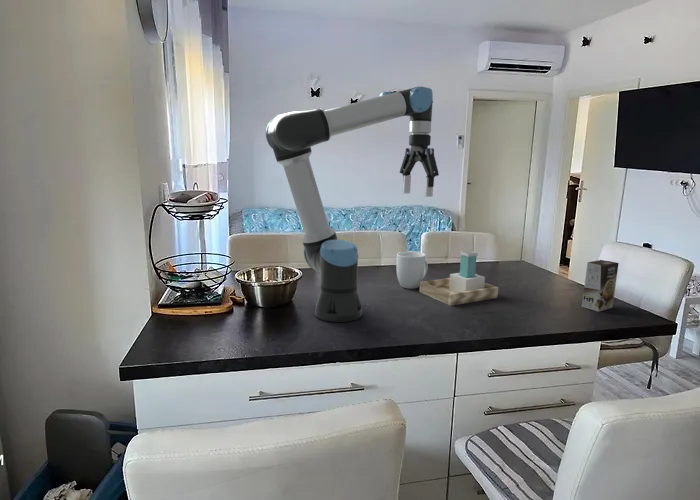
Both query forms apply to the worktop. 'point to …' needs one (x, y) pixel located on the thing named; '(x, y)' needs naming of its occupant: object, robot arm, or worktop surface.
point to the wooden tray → (444, 294)
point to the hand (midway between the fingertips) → (417, 195)
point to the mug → (411, 269)
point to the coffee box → (600, 285)
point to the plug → (468, 263)
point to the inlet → (465, 283)
